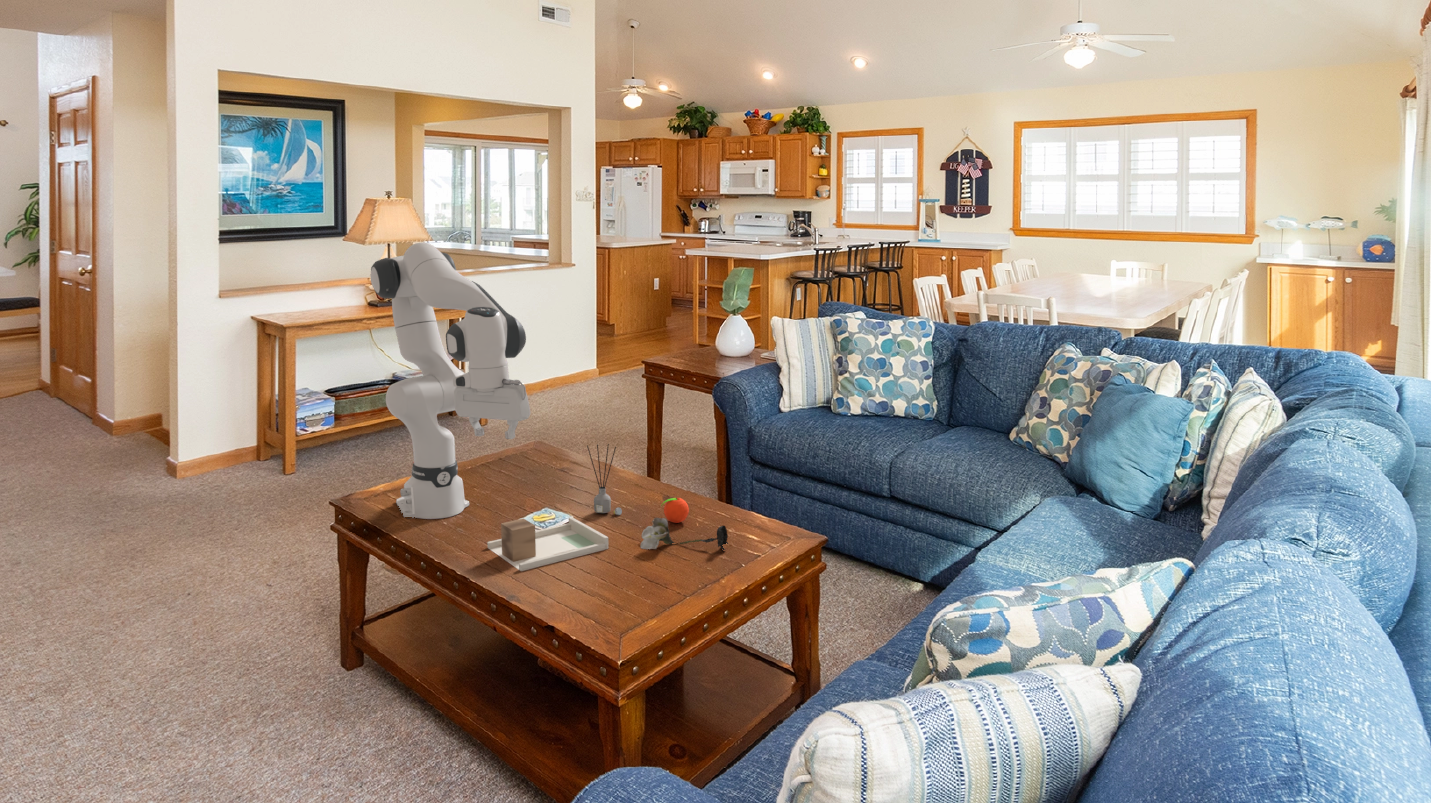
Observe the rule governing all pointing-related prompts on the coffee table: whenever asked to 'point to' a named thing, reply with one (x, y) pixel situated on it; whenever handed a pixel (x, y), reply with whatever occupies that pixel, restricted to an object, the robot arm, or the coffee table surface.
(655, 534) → the artificial flower
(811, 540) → the coffee table surface
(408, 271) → the robot arm
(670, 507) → the clementine
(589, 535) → the white rimmed tray
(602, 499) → the reed diffuser
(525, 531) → the walnut block
